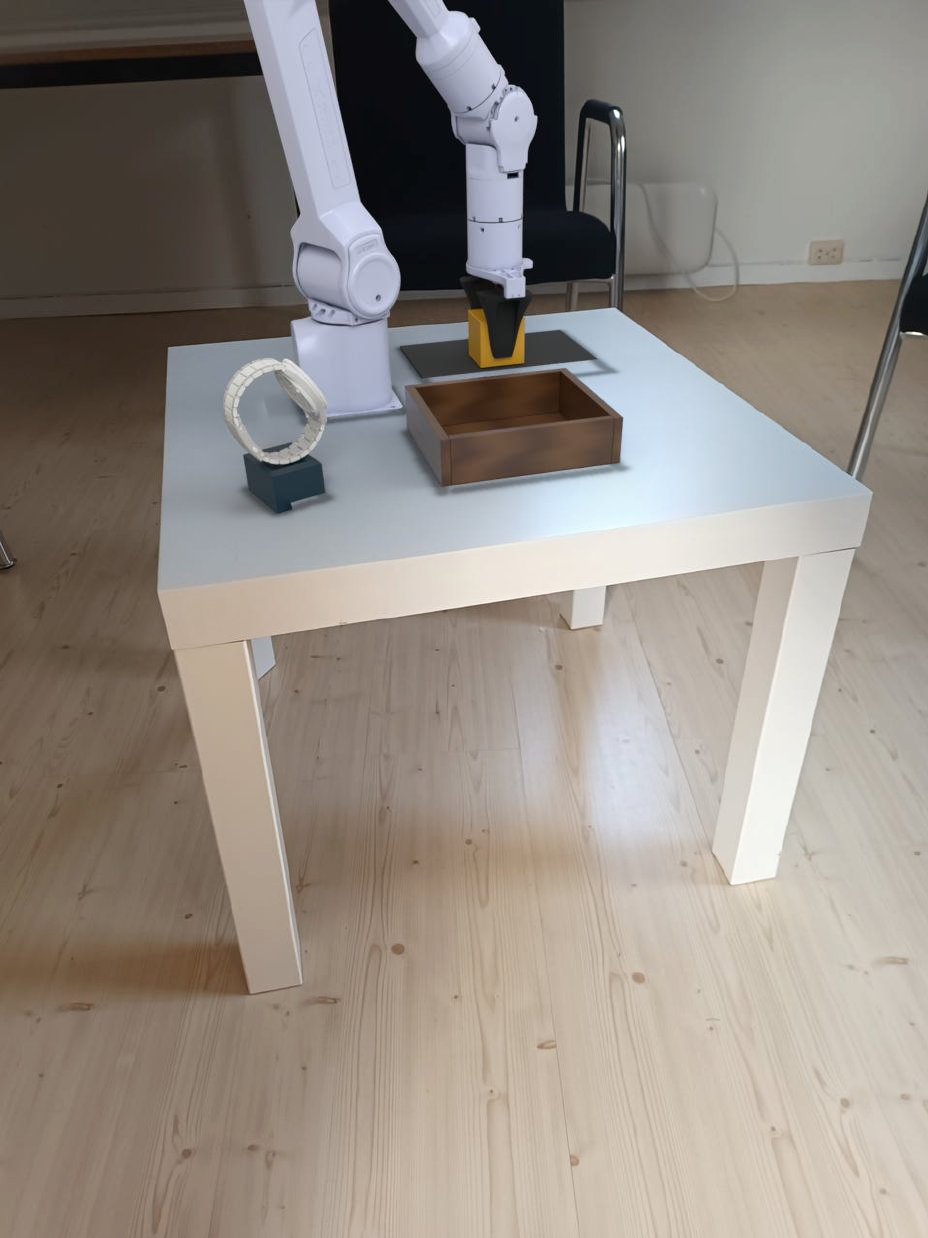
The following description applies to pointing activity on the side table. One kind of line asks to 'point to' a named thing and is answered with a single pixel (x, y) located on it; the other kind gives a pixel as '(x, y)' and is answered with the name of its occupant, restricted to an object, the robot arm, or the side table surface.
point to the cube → (481, 344)
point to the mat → (457, 361)
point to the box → (511, 426)
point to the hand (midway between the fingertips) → (495, 349)
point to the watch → (289, 465)
